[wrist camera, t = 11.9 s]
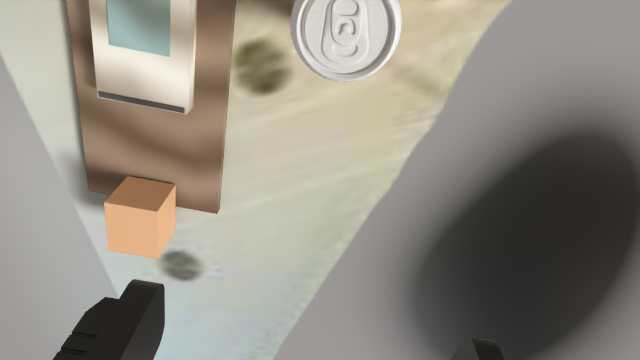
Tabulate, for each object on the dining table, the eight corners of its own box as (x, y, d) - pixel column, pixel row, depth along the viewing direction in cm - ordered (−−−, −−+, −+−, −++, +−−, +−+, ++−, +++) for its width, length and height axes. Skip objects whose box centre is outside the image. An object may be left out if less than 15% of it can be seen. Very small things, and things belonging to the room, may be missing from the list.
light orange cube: (127, 175, 43) (104, 202, 38) (175, 184, 43) (157, 211, 39) (130, 221, 46) (108, 250, 41) (175, 229, 46) (158, 259, 42)
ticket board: (56, -156, 30) (27, -165, 27) (244, -113, 31) (235, -118, 28) (93, 185, 45) (77, 201, 42) (219, 208, 46) (211, 225, 43)
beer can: (307, 34, 36) (289, 86, 23) (308, -45, 33) (286, -36, 20) (376, 36, 36) (397, 89, 23) (383, -43, 33) (411, -33, 20)
